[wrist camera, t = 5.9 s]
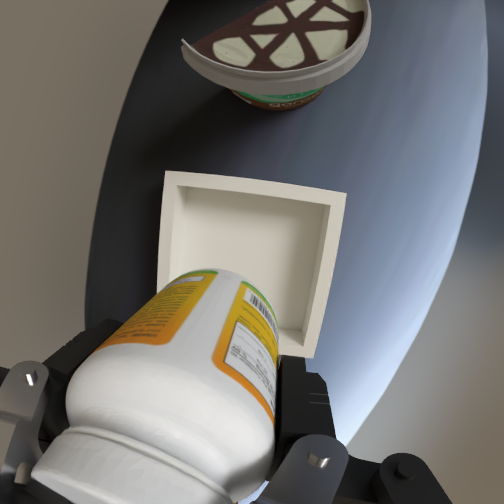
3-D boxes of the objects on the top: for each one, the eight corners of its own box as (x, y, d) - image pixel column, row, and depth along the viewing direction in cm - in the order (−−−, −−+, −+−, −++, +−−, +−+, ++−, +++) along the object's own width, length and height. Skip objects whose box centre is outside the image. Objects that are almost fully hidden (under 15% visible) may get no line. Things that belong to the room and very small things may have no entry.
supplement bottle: (148, 351, 13) (32, 505, 4) (172, 246, 12) (-32, 376, 2) (254, 390, 13) (222, 584, 3) (299, 292, 12) (330, 536, 2)
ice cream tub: (250, 152, 23) (230, 127, 13) (212, 95, 22) (172, 44, 12) (373, 86, 21) (419, 37, 11) (332, 33, 20) (354, -34, 10)
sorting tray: (180, 172, 24) (165, 170, 20) (337, 192, 23) (346, 193, 20) (170, 315, 27) (156, 331, 23) (309, 338, 26) (313, 358, 22)
